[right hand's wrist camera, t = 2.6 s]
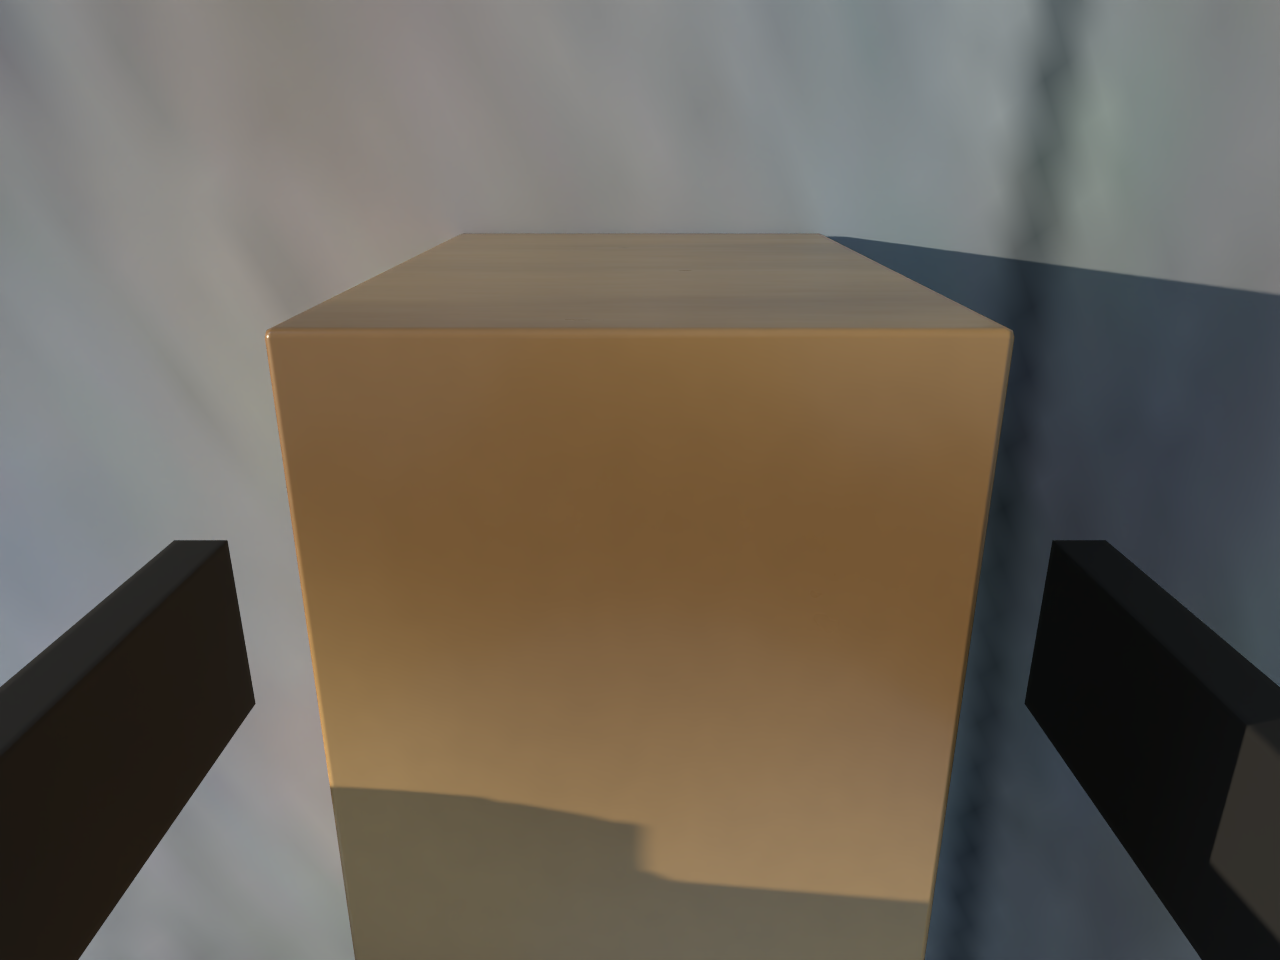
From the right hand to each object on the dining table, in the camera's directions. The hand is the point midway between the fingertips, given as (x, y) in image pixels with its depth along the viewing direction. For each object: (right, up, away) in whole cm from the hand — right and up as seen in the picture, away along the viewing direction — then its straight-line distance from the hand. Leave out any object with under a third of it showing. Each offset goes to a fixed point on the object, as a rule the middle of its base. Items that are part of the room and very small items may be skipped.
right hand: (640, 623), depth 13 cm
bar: (0, -32, +14) cm, 35 cm away
